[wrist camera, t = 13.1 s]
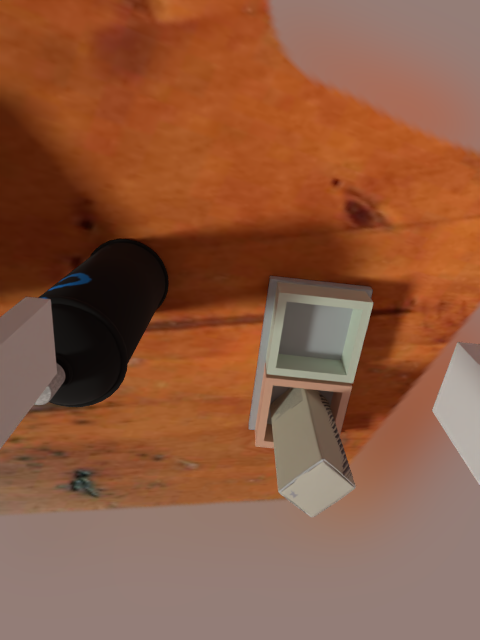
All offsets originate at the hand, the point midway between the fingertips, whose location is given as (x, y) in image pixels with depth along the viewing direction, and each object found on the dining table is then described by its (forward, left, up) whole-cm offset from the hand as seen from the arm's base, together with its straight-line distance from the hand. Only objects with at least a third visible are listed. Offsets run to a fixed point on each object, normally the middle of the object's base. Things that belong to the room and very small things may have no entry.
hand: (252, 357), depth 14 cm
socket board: (+15, +8, -28) cm, 33 cm away
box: (+19, +8, -27) cm, 34 cm away
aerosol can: (+8, -11, -28) cm, 31 cm away
